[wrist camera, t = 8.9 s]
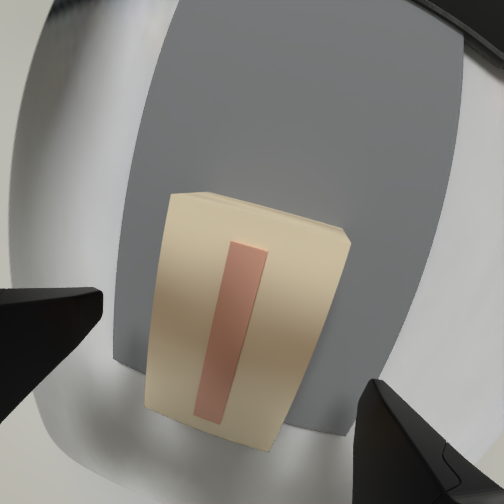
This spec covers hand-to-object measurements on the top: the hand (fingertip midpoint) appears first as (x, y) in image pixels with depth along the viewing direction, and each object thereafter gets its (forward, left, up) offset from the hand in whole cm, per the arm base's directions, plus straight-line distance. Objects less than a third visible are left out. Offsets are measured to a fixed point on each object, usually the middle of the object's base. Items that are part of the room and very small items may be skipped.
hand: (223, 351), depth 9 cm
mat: (-5, 0, -4) cm, 6 cm away
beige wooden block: (0, 0, -3) cm, 3 cm away
